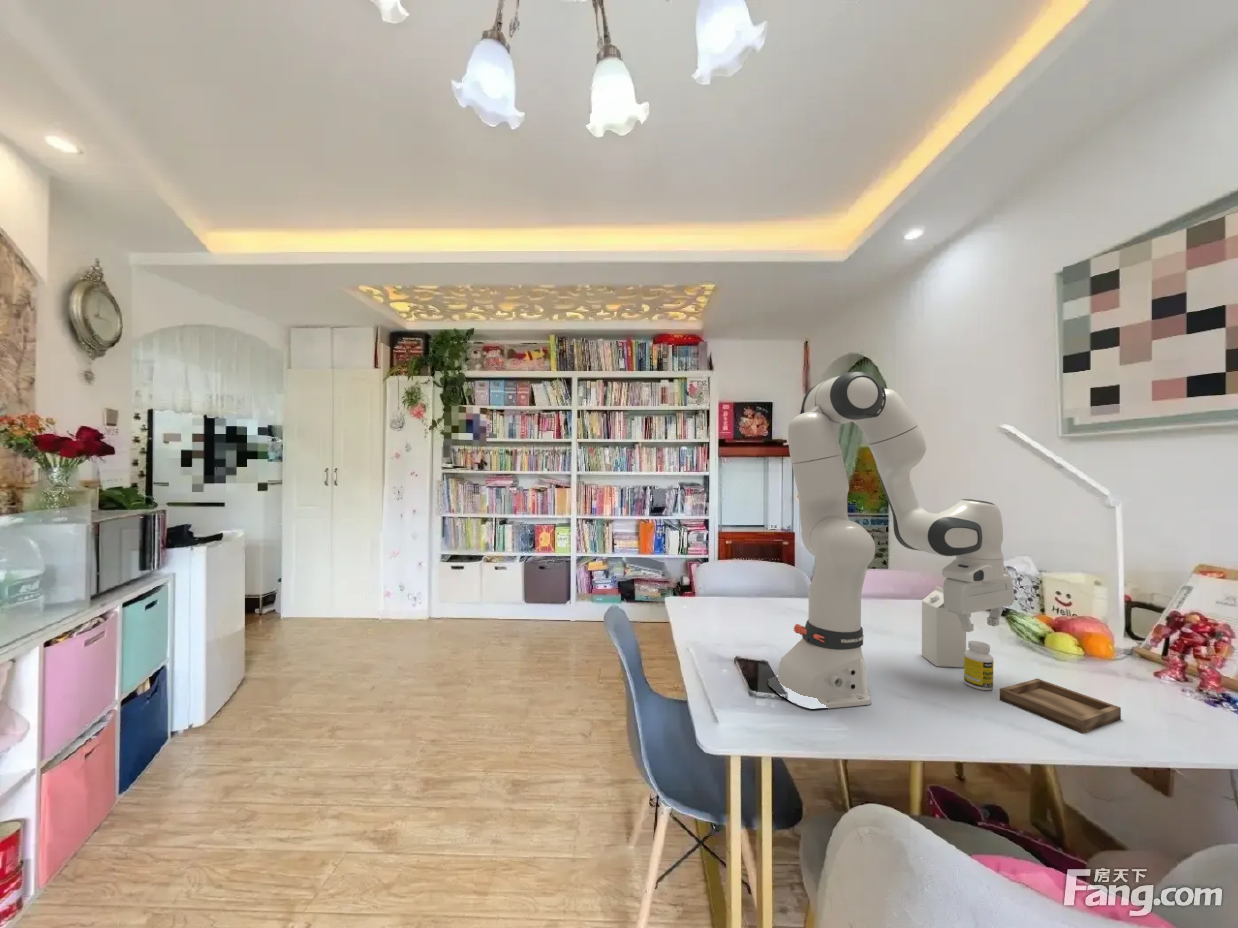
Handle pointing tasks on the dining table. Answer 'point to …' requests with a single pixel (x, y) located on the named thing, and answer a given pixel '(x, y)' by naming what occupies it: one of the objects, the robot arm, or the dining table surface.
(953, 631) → the milk carton
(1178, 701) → the dining table surface
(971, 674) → the supplement bottle
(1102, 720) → the tray
